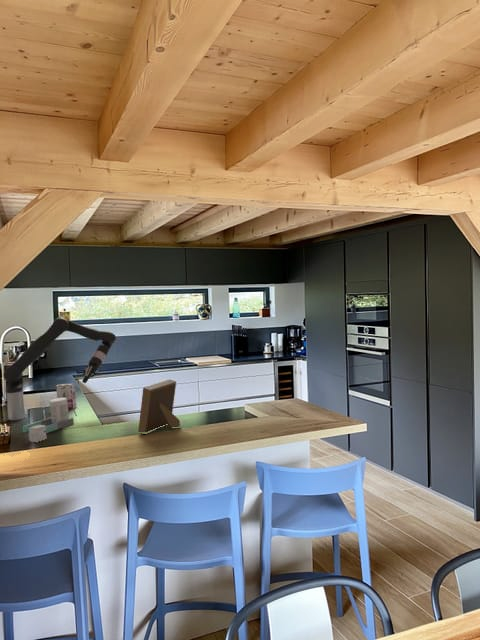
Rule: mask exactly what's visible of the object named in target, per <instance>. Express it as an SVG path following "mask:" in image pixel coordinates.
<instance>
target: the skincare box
mask: <svg viewBox="0 0 480 640" xmlns="http://www.w3.org/2000/svg"><path fill="white" fill-rule="evenodd" d="M46 426H47V425H46ZM46 426H45V425H36V426H33V427H30V428H29V431H28V435H29V442H31V443H39V441H40V442H43V441H46V440H47V438H48V437H47V433H46ZM45 439H46V440H45ZM42 440H43V441H42Z"/></svg>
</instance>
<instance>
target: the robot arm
mask: <svg viewBox="0 0 480 640" xmlns="http://www.w3.org/2000/svg"><path fill="white" fill-rule="evenodd" d="M65 332H70V333H74V334H76V335H78V336H81V337H83V338H86V339H89V340H92V341H96V342H97V341H101V343H100V344H99V345H98V347H97V348H96V350H95V352H94V353H93V354H92V356H91V358H90V360H89V361H88V365H87V366H86V368H83V369H82V376H84V377H83V378H82V382H83V383H84V384H86V383H87V382H88V381H89V379H92V378H94V377H95V376H96V375H97V374H98V373H99V372H100V371H99V369H100V368H101V367H102V364H103V363H104V362H105V359H106V357H107V355H108V353H109V351H110V349H111V348H112V346H113V344H114V343H115V341H116V338H117V336H116V334H115V333H113V332H111V331H105V330H98V329H95V328H92V327H88V326H85V325H83V324H82V325H81V324H79V323H77V322H74V321H72V320H69V319H68V318H66V317H63V316H58V317H57V318H55V319H54V320H53V323H52V324H51V325H50V327H49V328H48V329H47V330H46V331H45V332H44V333H43V334H41V335H40V336H39V337H37V338H36V339H35V340H34V341H33V342H32V343H31V344H30V345H29V346H28V347H27V348H26V349H25V351H23V353H22V354H21V355H20V356H19V358H18V359H17V360H16V361H15V362H13V363H12V364H11V365H10V366H9V367H7V368H6V369H5V370H4V373H3V378H4V380H5V381H6V382H7V385H6V397H7V399H6V400H7V405H6V406H7V415H8V416H7V417H8V420H9V421H20V420H23V419H25V418H26V409H25V398H24V390H23V389H24V379H23V378H24V377H23V372H24V371H25V370H26V369H27V368H28V367H30V365H32V364H33V363H34V362H36V361H37V360H39V358H41V356H42V355H43V354H45V353H46V351H48V349H49V348H50V346H51V345H52V344H53V343H54V342H55V340H56V339H58V338H59V337H60V336H61V335H62V334H63V333H65Z"/></svg>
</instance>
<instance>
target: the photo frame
mask: <svg viewBox="0 0 480 640" xmlns="http://www.w3.org/2000/svg"><path fill="white" fill-rule="evenodd" d="M176 386H177V381H176V380H172V379H166V380H164V381H161V382H160V381H159V382H158V383H154V384H151V385H147V386H145V387H142V396H141V404H140V412H139V421H138V431H137V433H138V432H148V431H150V430H153V429H155V428H158V427H160V426H163V425H166V424H169V425H168V426H170V428H171V427H179V426H180V427H181V421H180V418H178V417H177V416H176V415H175V414H174V413H173V411H174V403H175V394H176Z"/></svg>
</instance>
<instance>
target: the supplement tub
mask: <svg viewBox="0 0 480 640" xmlns="http://www.w3.org/2000/svg"><path fill="white" fill-rule="evenodd" d="M49 409H50V418H51V419H52V424H54V423H57V422H60V421H63V420H67V419H70V417H69V409H68V405H67V399H66V398H57V397H56V398H53V399H51V400H49Z"/></svg>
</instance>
